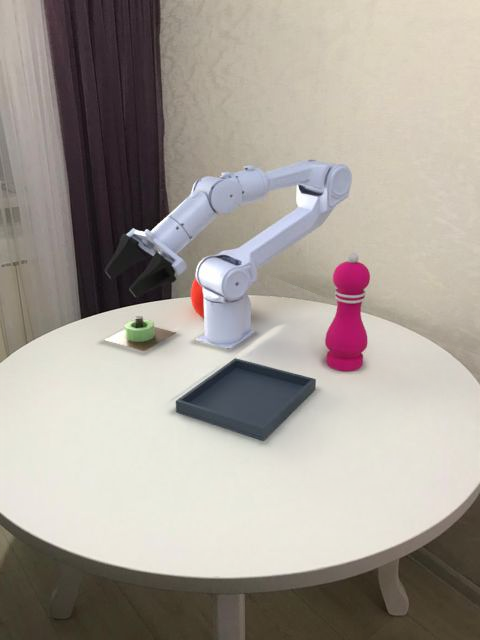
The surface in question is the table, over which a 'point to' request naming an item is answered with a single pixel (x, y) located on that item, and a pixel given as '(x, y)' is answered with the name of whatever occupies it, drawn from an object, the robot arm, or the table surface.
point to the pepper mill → (348, 316)
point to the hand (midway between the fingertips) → (120, 284)
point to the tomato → (197, 298)
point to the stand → (143, 346)
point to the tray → (247, 398)
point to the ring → (139, 331)
